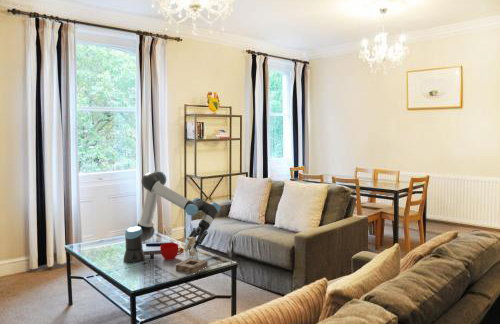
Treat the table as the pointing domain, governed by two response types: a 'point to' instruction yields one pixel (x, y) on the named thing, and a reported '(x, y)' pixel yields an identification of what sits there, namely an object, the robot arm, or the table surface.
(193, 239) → the peg
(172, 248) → the ceramic cup
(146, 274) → the table surface
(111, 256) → the table surface
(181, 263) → the board
